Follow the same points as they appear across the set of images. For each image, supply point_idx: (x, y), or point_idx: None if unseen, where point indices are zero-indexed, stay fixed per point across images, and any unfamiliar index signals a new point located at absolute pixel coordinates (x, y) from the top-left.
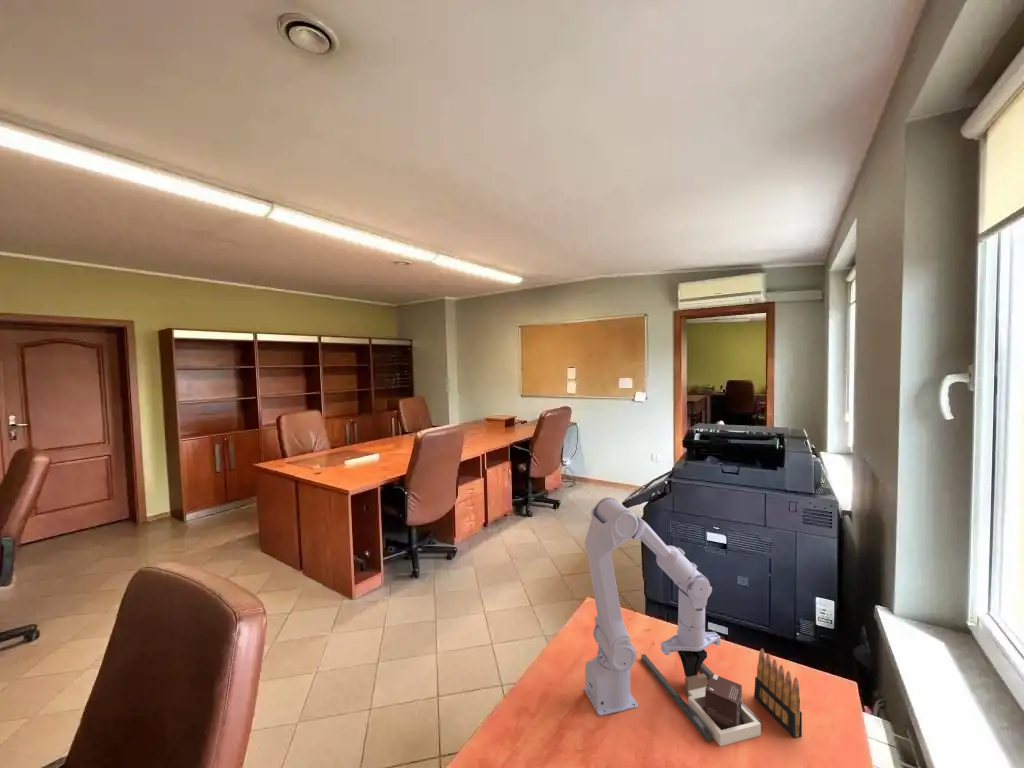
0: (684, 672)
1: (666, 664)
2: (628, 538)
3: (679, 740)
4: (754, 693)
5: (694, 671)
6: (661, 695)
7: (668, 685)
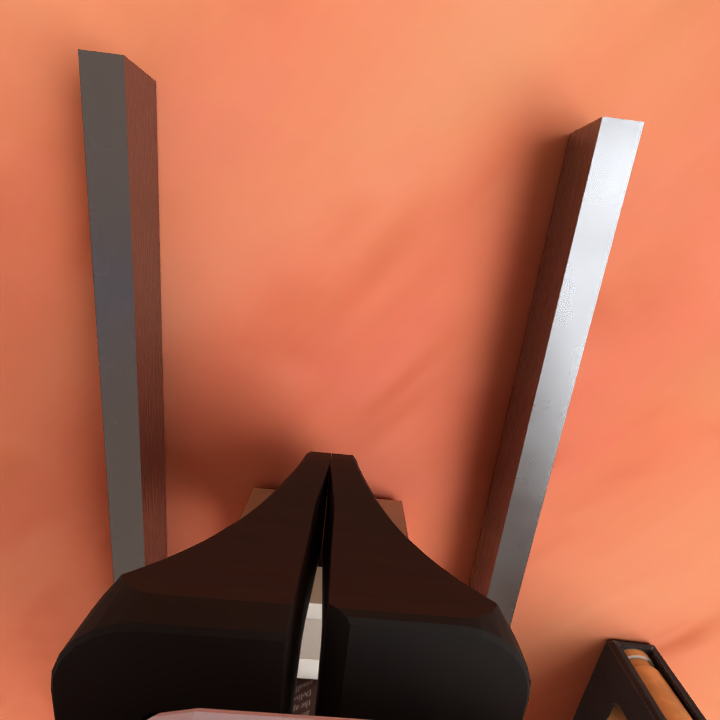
0: (302, 460)
1: (314, 216)
2: None
3: (19, 691)
4: (626, 670)
5: (322, 587)
6: (83, 455)
7: (119, 475)
